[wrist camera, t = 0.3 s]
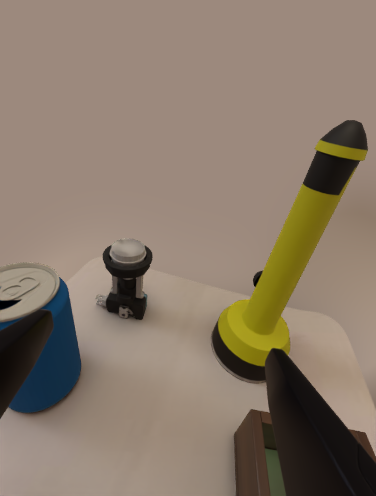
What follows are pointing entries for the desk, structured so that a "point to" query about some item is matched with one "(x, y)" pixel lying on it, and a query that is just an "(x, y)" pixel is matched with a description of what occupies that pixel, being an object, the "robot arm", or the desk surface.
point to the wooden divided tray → (265, 456)
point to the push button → (126, 277)
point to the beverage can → (59, 342)
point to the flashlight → (288, 258)
